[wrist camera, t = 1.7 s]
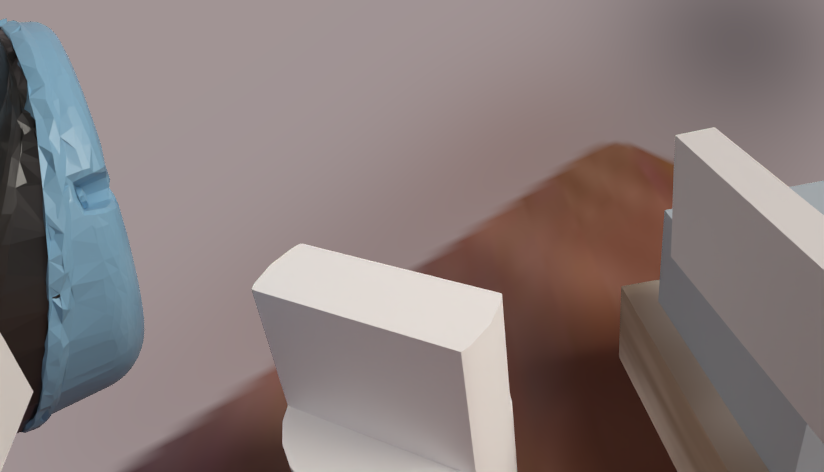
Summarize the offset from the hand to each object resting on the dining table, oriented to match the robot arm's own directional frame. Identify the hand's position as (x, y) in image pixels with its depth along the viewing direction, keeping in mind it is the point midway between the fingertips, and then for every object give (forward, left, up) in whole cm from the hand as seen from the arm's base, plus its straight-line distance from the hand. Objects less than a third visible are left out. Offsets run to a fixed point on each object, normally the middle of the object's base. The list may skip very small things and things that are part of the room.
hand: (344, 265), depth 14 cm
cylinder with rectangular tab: (0, +9, -20) cm, 22 cm away
